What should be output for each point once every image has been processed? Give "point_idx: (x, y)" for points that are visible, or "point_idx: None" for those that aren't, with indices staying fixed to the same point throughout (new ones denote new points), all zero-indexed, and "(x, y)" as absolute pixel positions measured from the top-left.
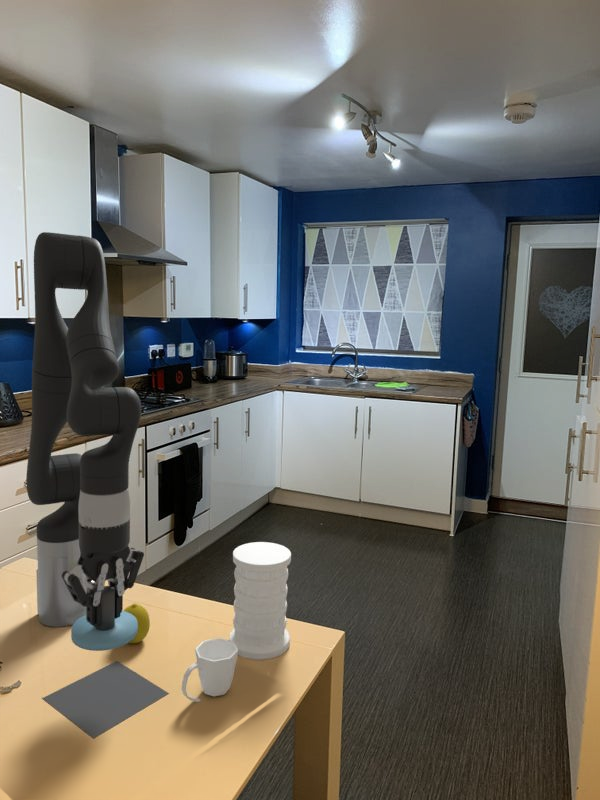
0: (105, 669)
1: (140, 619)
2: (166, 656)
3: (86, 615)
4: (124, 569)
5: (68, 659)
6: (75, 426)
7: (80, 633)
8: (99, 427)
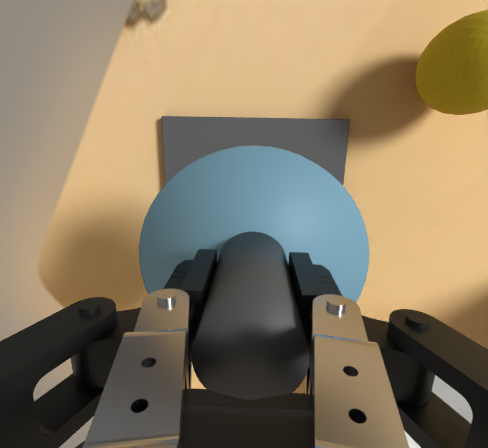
0: (309, 129)
1: (477, 103)
2: (434, 182)
3: (173, 272)
4: (471, 402)
5: (289, 5)
6: None
7: (165, 244)
8: None
